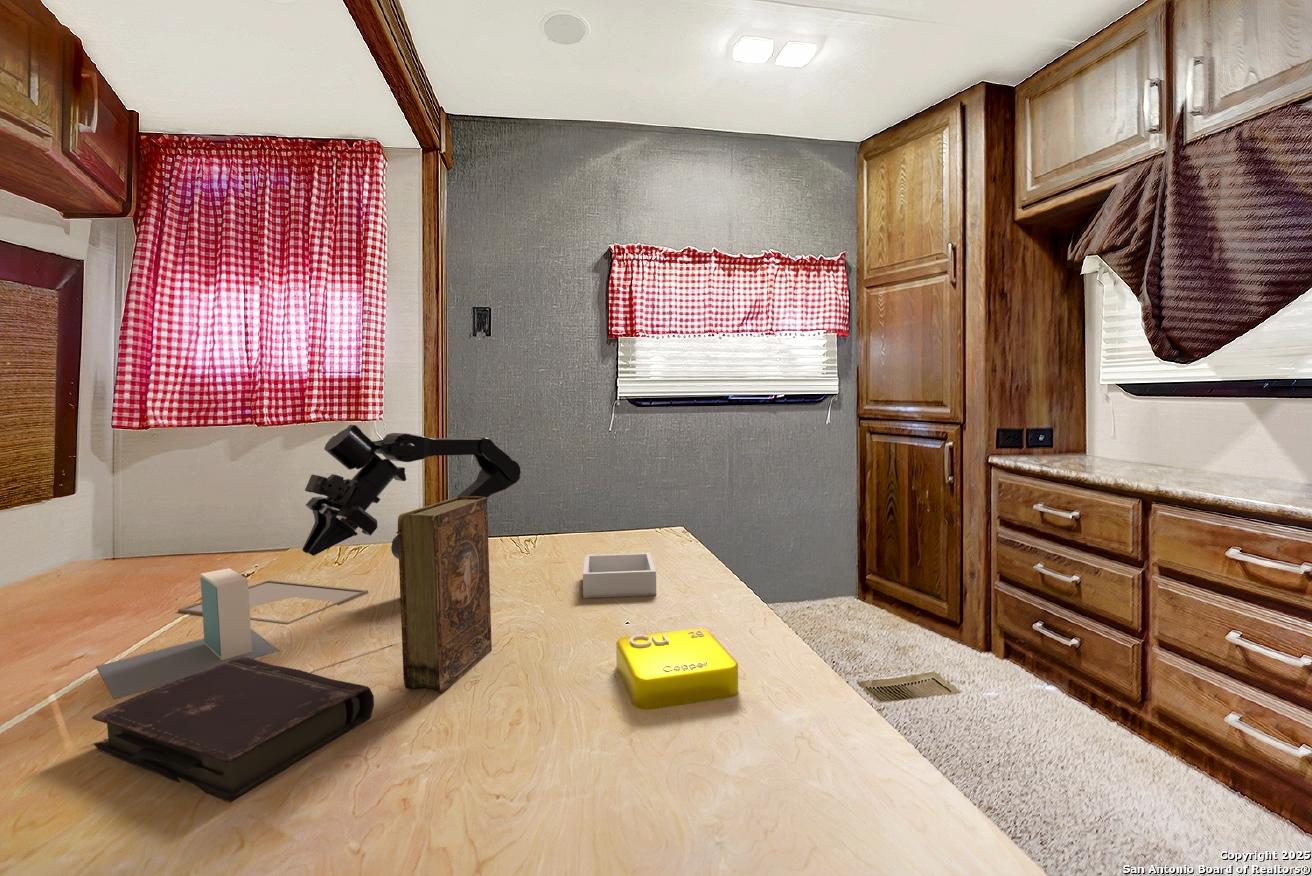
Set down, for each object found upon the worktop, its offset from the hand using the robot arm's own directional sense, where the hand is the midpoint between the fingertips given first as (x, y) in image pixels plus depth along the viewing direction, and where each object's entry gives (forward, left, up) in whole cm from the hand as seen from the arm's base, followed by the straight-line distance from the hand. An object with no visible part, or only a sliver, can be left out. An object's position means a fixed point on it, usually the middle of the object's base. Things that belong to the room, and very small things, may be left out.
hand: (307, 553), depth 106 cm
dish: (-56, -17, -14) cm, 60 cm away
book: (-30, +20, -14) cm, 39 cm away
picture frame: (+14, -15, -14) cm, 25 cm away
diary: (-8, +35, -14) cm, 39 cm away
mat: (+12, +12, -14) cm, 22 cm away
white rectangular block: (+9, +9, -13) cm, 18 cm away
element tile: (-63, +27, -14) cm, 70 cm away
